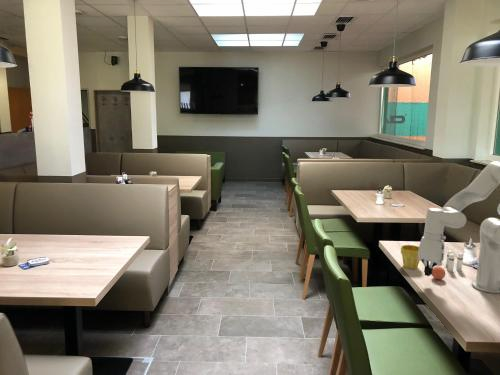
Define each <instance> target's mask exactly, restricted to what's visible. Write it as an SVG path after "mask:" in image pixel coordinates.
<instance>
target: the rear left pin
mask: <svg viewBox="0 0 500 375" xmlns="http://www.w3.org/2000/svg"><path fill="white" fill-rule="evenodd" d="M453 252H454V251H453V250H447V252H446V261H445V268H447V269H448V262H449V254H454V253H453Z"/></svg>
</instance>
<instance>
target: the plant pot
mask: <svg viewBox="0 0 500 375" xmlns="http://www.w3.org/2000/svg"><path fill="white" fill-rule="evenodd" d="M418 250H419V245H414V244H412V245H411V244H405V245H404V244H403V245H402V246H401V247H400V254H401V256H402V265H403V267H405V268H406V269H412V270H414V269H418V267H419V263H420V262H421V261H420V260H418V259H417V258H418Z"/></svg>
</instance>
